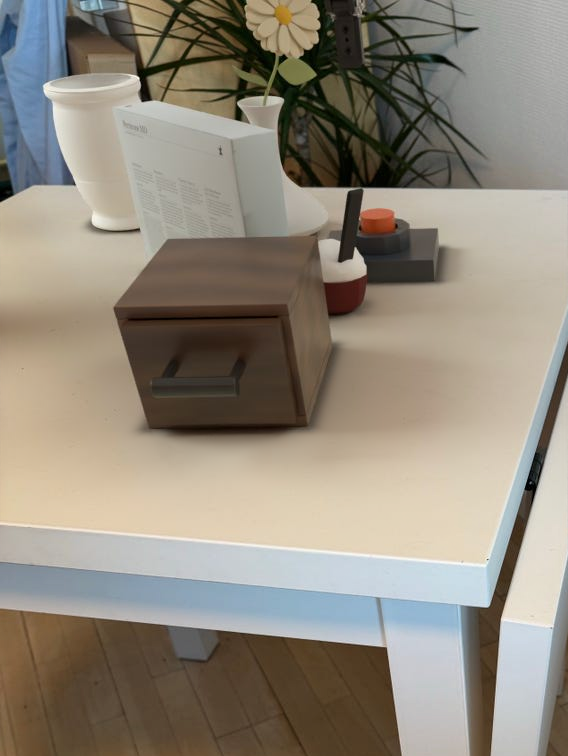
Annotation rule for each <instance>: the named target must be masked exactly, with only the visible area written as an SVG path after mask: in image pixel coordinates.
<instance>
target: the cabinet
mask: <svg viewBox="0 0 568 756" xmlns="http://www.w3.org/2000/svg"><path fill="white" fill-rule="evenodd" d="M318 241H319V238H318V235H309V236H282V237H233V238H185V239H167V240H166V242H165V243H164V244H163V245H162V247H161V248H160V249H159V250H158V252H157V253H156V254H155V255H154V257H153V258H152V259H151V260H150V262H149V263H148V262H147V263H146V265H145V266H144V267H143V269H142V270H141V272H139V274H137V276H136V278H135V279H134V280H133V281H132V283H131V284H130V285H129V286H128V288H127V289H126V290H125V291H124V292H123V294H122V296H121V297H119V299H118V300H117V302H116V303H115V304H114V306H113V307H112V310H113V313H114V316H115V319H116V323H117V326H118V331H119V333H120V336H121V337H122V335H121V332H120V329H119V327H120V325H121V324H122V323H123V322H124V321H139V320H143V319H142V318H195V317H249V316H278V318H281V320H282V326H283V332H284V337H285V343H286V349H287V355H288V360H289V366H290V372H291V378H292V383H293V389H294V395H295V401H296V406H297V412H298V418H297V421H296V423H279V424H215V425H150V426H149V425H148V422H147V419H146V416H145V415H144V416H145V420H146V423H147V426H148V429H187V428H194V429H195V428H249V427H250V428H251V427H252V428H255V427H257V428H258V427H259V428H260V427H261V428H262V427H308V426H309V423H310V419H311V417H312V413H313V410H314V406H315V403H316V401H317V397H318V394H319V391H320V387H321V385H322V382H323V378H324V375H325V373H326V368H327V365H328V364H329V363H328V362H329V359H330V356H331V352H332V350H333V341H332V340H333V339H332V333H331V325H330V319H329V314H328V310H327V303H326V296H325V289H324V281H323V274H322V267H321V260H320V252H319V247H318V246H319V245H318ZM121 340H122V343H123V346H124V347H125V345H124V342H123V339H122V338H121ZM124 350H125V353H126V356H127V357H128V355H127V352H126V349H125V348H124ZM127 359H128V358H127ZM128 363H129V366H130V367H131V365H130V362H129V359H128ZM130 369H131V368H130ZM131 373H132V374H133V372H132V369H131ZM133 380H134V383H135V384H136V382H135V379H134V378H133ZM135 386H136V385H135ZM136 390H137V393H138V394H139V392H138V389H137V386H136ZM138 397H139V400H140V403H141V404H142V402H141V399H140V396H139V395H138ZM141 406H142V405H141ZM142 410H143V413H144V414H145V412H144V409H143V406H142Z"/></svg>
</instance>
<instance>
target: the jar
mask: <svg viewBox="0 0 568 756" xmlns="http://www.w3.org/2000/svg"><path fill="white" fill-rule="evenodd" d="M141 87H142V84H141V81H140V77H139V76H138V75H135V74H129V73H118V72H97V73H94V72H93V73H84V74H83V73H82V74H75V75H70V76H69V75H68V76H64V77H60V78H56V79H53V80H50V81H47V82H46V83H44V84H43V85H42V89H43V90H42V91H43V94H44V95H45V97H46V98H47V99H49V100H51V103H52V117H53V124H54V131H55V134H56V138H57V141H58V145H59V149H60V152H61V154H62V157H63V160H64V161H65V164H66V166H67V168H68V170H69V173H70V174H71V175H72V178H73V181H74V183H75V186H76V188H77V190H78V192H79V194H80V195H81V197H82V199H83V200H84V202H85V203H86V204H87V205H88V207H89V208H90V209H91V210H92V214H91V224H92V225H93V226H94V227H95V228H98V229H100V230H103V231H104V230H105V231H113V232H115V231H116V232H117V231H132V230H137V229H140V225H139V221H138V216H137V213H136V211H135V206H134V201H133V197H132V192H131V188H130V183H129V179H128V174H127V169H126V164H125V160H124V156H123V152H122V148H121V143H120V139H119V135H118V130H117V126H116V122H115V117H114V114H113V110H112V107H116V106H122V105H128V104H135V103H141V102H142V100H141V98H140V97H139V92H140V90H141Z"/></svg>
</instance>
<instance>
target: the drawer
mask: <svg viewBox="0 0 568 756" xmlns="http://www.w3.org/2000/svg"><path fill="white" fill-rule="evenodd" d="M142 319H143V320H139V321H124V322H123V323H122V324H121V325H120V327H119V326H118V330H119V329H120V330H119V333H120V332H121V333H120V336H121V335H122V336H121V340H122V339H123V340H122V343H123V342H124V343H123V346H124V345H125V346H124V350H125V349H126V350H125V353H126V352H127V353H126V356H127V355H128V356H127V359H129V360H128V363H129V362H130V363H129V366H130V365H131V366H130V369H132V370H131V373H132V372H133V373H132V377H133V380H134V379H135V380H134V383H135V382H136V383H135V386H137V387H136V390H137V389H138V390H137V393H138V392H139V393H138V397H139V396H140V397H139V400H140V399H141V400H140V403H141V402H142V403H141V406H143V407H142V410H143V409H144V410H143V413H144V412H145V413H144V416H146V417H145V420H146V419H147V420H146V423H147V422H148V424H147V426H148V425H149V426H150V425H215V424H279V423H296V421H297V418H298V412H297V406H296V401H295V395H294V389H293V383H292V378H291V372H290V366H289V360H288V355H287V349H286V343H285V337H284V332H283V326H282V320H281V318H278V316H249V317H195V318H142Z"/></svg>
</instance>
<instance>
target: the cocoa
mask: <svg viewBox="0 0 568 756" xmlns="http://www.w3.org/2000/svg"><path fill="white" fill-rule="evenodd" d="M364 190H365V189H363V188H362V187H361V188H355V189H351V190H348V191H347V193H346V201H345V206H344V214H343V222H342V229H341V230H342V234H341V242H340V241H338V240H335V239H327V238H324V239H321V240H318V245H319V246H318V247H319V252H320V260H321V267H322V274H323V281H324V289H325V296H326V303H327V310H328V315H344V314H348V313H351V312H353V311H354V310H356V309H357V308H359V307H360V306H361V305H362V304H363V301H364V299H365V295H366V292H367V291H366V290H367V284H368V283H367V268H366V265H365V263H364V259H363V257H362V256H361V255H360V254H359V252H358V250H357V248H356V247H355V244H356V237H357V231H358V224H359V220H360V213H361V212H362V204H363V198H364V193H365V191H364Z"/></svg>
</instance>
